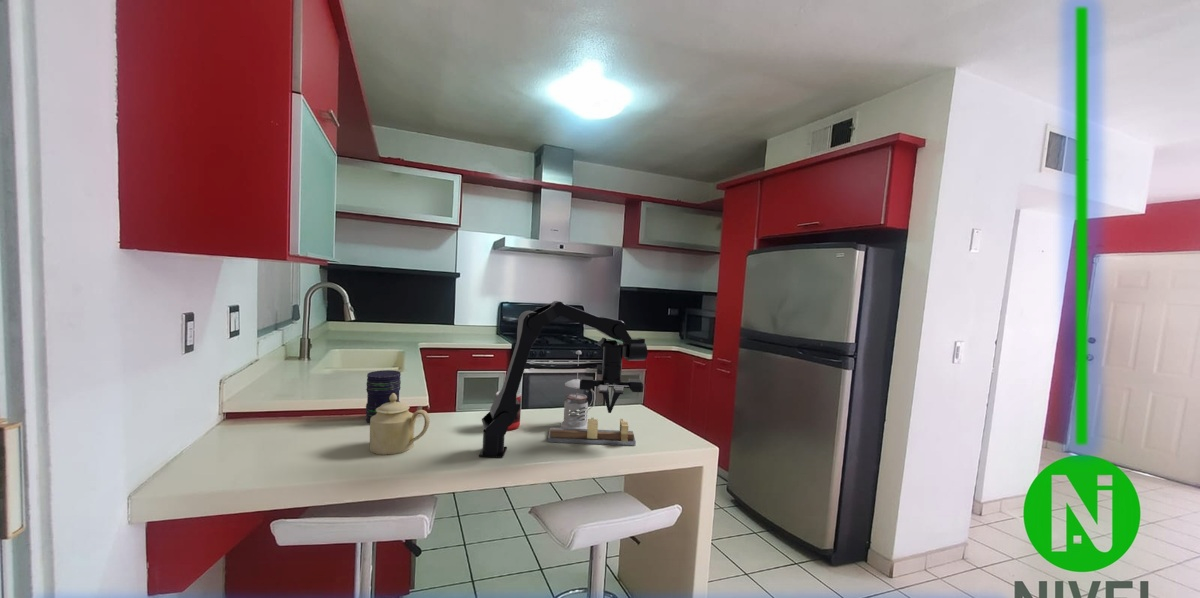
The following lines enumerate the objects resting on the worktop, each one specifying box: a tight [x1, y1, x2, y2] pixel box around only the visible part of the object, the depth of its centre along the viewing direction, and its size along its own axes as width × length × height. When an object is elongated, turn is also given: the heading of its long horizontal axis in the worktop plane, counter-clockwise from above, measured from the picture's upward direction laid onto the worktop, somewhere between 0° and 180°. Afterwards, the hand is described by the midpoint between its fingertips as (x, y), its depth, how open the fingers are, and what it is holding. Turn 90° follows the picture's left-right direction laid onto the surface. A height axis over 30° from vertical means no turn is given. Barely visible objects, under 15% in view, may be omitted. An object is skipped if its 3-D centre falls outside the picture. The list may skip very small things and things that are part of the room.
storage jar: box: [365, 369, 402, 425], centre depth 142 cm, size 10×10×15 cm
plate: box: [547, 427, 637, 446], centre depth 135 cm, size 9×26×1 cm, turn 92°
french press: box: [560, 350, 596, 429], centre depth 146 cm, size 10×12×25 cm
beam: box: [549, 418, 635, 441], centre depth 134 cm, size 7×25×5 cm, turn 92°
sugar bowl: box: [369, 393, 431, 455], centre depth 121 cm, size 15×11×15 cm
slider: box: [587, 416, 599, 439], centre depth 134 cm, size 7×3×5 cm, turn 2°
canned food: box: [495, 390, 522, 432], centre depth 141 cm, size 8×8×11 cm
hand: (609, 412), depth 133 cm, fingers closed
